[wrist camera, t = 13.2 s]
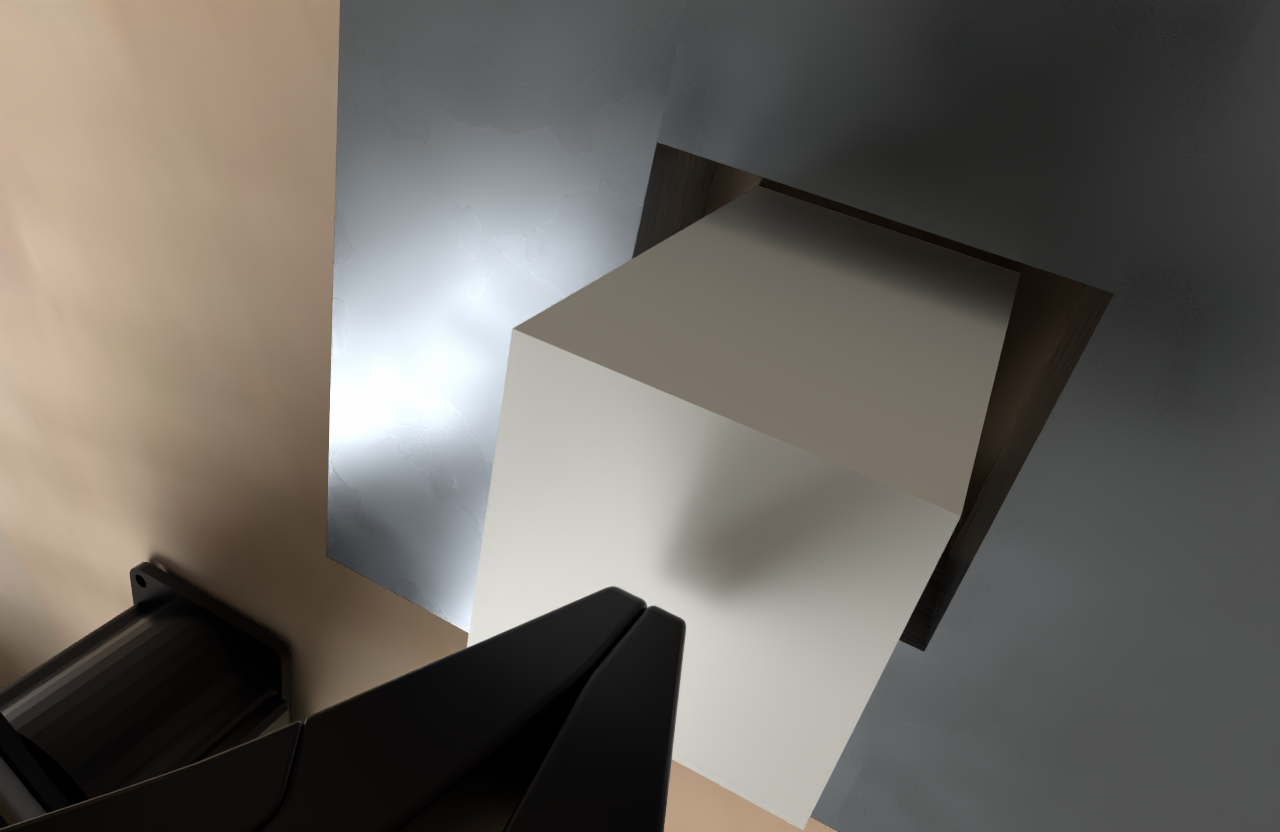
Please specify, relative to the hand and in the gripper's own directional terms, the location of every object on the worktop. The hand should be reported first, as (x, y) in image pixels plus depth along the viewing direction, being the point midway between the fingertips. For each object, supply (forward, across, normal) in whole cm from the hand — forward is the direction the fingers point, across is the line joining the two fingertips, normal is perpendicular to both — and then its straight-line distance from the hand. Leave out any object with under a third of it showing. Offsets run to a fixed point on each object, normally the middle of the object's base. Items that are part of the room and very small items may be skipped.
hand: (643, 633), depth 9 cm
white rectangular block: (+9, 0, 0) cm, 9 cm away
